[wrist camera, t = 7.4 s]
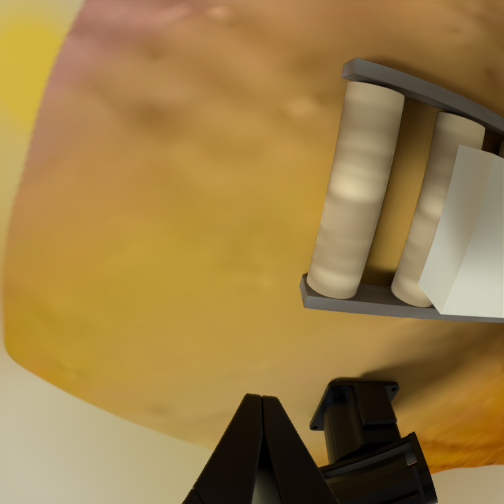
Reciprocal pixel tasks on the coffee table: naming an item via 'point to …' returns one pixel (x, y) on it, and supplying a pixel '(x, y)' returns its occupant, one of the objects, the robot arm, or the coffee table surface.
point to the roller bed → (374, 187)
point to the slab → (469, 240)
